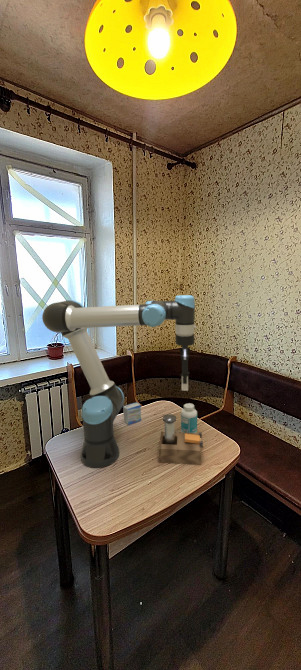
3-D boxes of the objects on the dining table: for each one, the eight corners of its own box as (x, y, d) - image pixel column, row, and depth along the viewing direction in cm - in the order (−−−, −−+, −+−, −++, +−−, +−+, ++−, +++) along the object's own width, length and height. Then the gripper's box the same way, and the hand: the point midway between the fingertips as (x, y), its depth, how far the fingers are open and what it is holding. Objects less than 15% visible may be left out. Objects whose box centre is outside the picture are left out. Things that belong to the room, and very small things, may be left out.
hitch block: (158, 462, 105) (158, 444, 104) (161, 444, 117) (161, 427, 115) (202, 465, 103) (203, 446, 101) (201, 446, 115) (201, 429, 113)
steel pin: (163, 457, 108) (162, 420, 105) (163, 449, 113) (163, 413, 110) (176, 457, 108) (175, 421, 104) (176, 449, 113) (176, 414, 109)
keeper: (199, 438, 110) (199, 435, 109) (200, 443, 106) (200, 441, 106) (184, 436, 110) (184, 433, 110) (184, 441, 106) (185, 439, 106)
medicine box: (127, 425, 132) (127, 409, 131) (123, 421, 136) (122, 405, 134) (141, 420, 137) (141, 404, 135) (137, 417, 140) (136, 401, 138)
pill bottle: (196, 428, 128) (196, 402, 126) (197, 437, 121) (198, 409, 118) (180, 428, 129) (180, 401, 126) (180, 436, 122) (180, 409, 119)
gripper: (195, 337, 101) (194, 396, 106) (193, 331, 114) (193, 384, 118) (174, 337, 102) (175, 396, 107) (175, 331, 115) (176, 383, 119)
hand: (184, 389), depth 113 cm, fingers closed
